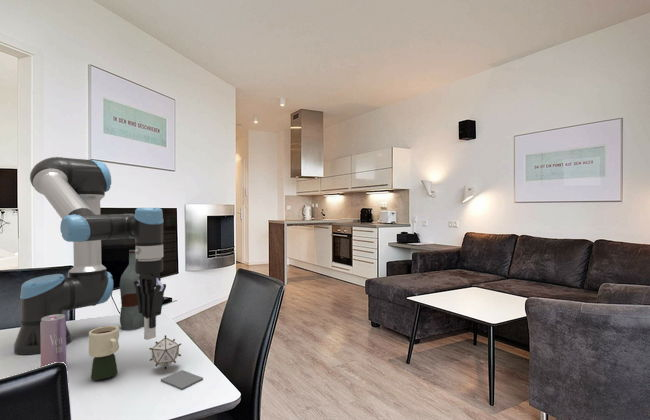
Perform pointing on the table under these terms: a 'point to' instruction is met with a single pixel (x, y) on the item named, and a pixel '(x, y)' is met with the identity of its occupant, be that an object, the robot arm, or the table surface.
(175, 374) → the grey rubber mat
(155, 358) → the game die
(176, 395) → the table surface
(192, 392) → the table surface
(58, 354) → the beverage can
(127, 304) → the bottle
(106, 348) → the character mug
